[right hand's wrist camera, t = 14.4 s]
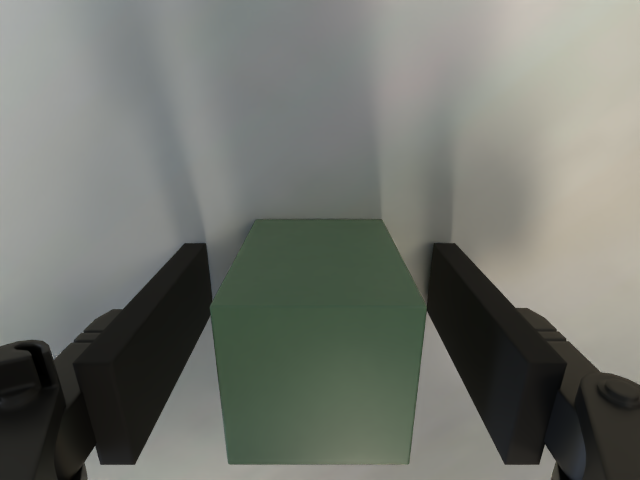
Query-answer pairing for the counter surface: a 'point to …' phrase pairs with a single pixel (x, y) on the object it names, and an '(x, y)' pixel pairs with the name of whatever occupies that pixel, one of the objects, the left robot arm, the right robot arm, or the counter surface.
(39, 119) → the counter surface
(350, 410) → the green block
